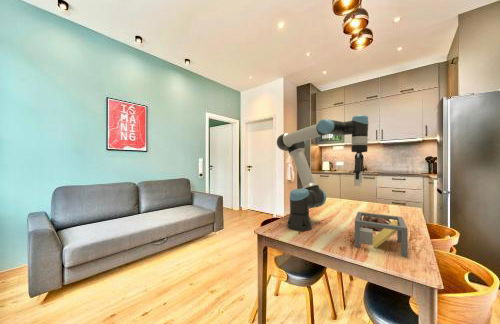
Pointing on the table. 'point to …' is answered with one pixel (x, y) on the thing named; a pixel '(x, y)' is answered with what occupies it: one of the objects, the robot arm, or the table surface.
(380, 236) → the hatch
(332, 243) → the table surface
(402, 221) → the frame
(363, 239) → the grey cube
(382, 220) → the rock
